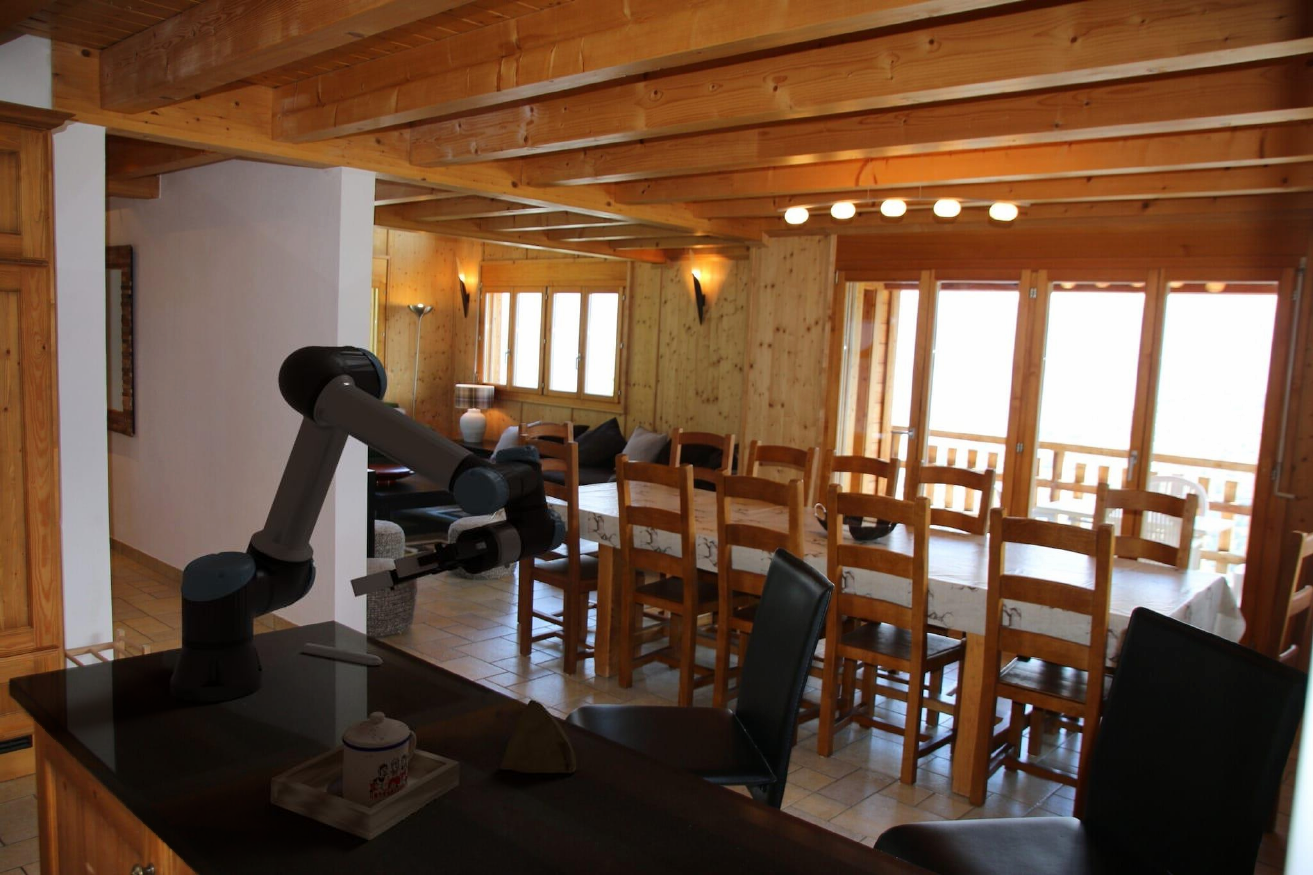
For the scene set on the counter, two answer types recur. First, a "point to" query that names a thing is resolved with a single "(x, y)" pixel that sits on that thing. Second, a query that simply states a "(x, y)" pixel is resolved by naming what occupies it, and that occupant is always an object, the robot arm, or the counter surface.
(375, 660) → the marker
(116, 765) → the counter surface
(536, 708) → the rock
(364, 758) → the teacup with lid
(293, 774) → the housing tray
